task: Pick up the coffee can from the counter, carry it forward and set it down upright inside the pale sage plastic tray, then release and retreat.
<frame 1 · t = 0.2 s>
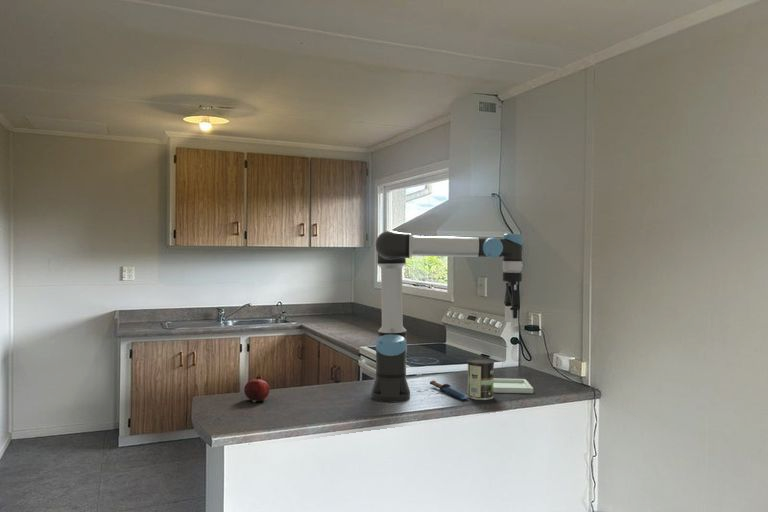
hand: (511, 324, 233), 27 cm above the table, fingers open, 13 cm apart
knife: (448, 393, 230), on the table
fruit: (256, 401, 217), on the table
tray: (509, 387, 240), on the table
coffee can: (480, 397, 226), on the table
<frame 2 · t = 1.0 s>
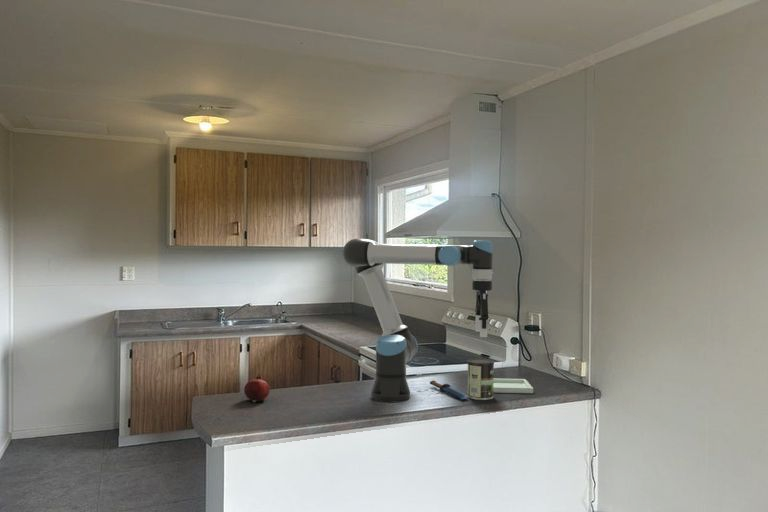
hand: (481, 334, 226), 24 cm above the table, fingers open, 13 cm apart
nothing on the table moved.
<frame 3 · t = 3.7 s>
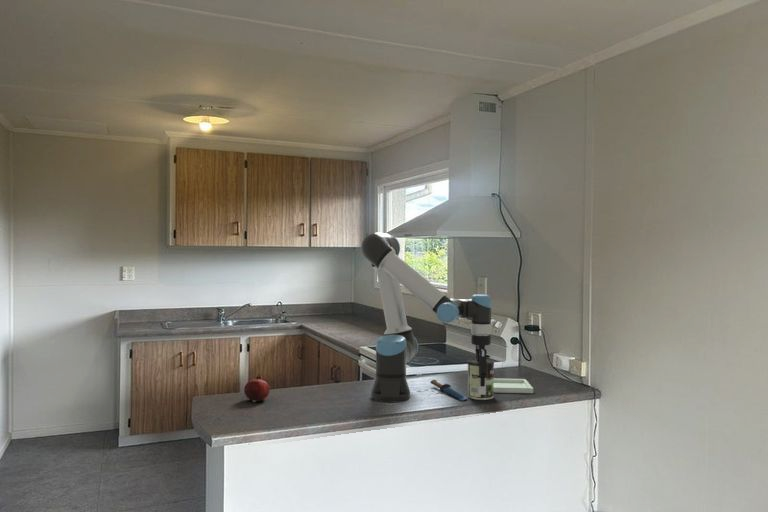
hand: (480, 390, 226), 2 cm above the table, fingers closed on coffee can, 10 cm apart
coffee can: (480, 397, 226), on the table, touching gripper
everything else where it was.
when the fingers open (4 cm above the table, at t = 9.9 s): coffee can drops 1 cm, resting on tray.
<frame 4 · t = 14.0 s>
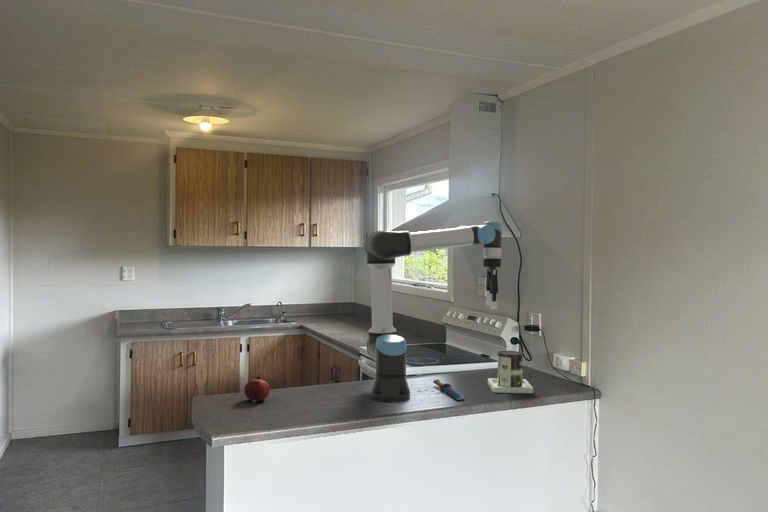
hand: (491, 307, 247), 33 cm above the table, fingers open, 13 cm apart
coffee can: (509, 386, 240), resting on tray
at the end: coffee can inside the target area on the tray (0.1 cm from its centre), point 0.4 cm above the tray's base; coffee can tilted 0°; the gripper is holding nothing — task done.
